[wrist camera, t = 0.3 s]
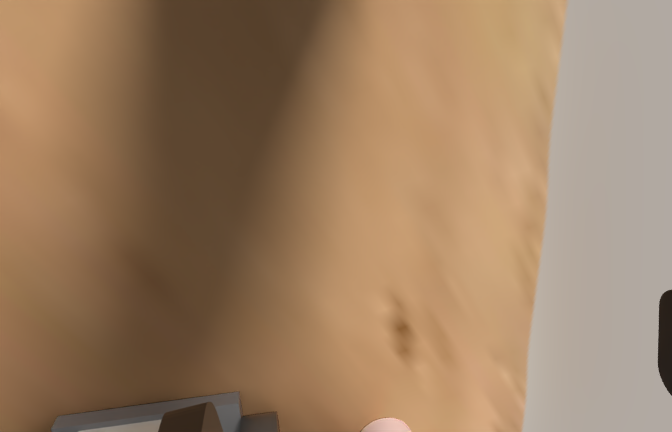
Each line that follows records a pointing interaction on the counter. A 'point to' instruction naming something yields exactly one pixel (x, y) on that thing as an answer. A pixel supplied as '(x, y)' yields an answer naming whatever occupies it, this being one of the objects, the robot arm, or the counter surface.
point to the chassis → (144, 420)
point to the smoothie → (386, 426)
